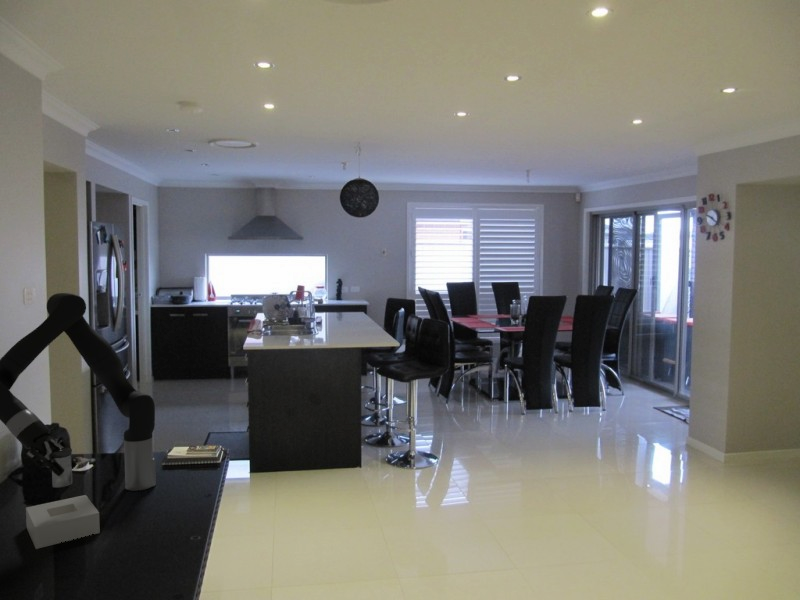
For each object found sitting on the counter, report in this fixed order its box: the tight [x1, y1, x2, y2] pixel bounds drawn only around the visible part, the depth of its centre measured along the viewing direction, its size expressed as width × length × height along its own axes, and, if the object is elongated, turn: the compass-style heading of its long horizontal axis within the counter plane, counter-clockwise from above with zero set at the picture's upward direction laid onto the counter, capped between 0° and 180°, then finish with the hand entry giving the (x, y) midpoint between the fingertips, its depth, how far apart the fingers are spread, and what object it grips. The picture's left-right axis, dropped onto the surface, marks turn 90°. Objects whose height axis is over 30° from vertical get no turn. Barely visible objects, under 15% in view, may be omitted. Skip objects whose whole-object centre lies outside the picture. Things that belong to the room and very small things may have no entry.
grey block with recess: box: [25, 494, 101, 550], centre depth 177 cm, size 16×18×6 cm
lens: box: [51, 447, 73, 488], centre depth 176 cm, size 5×5×10 cm
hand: (68, 470), depth 176 cm, fingers closed on lens, 5 cm apart
